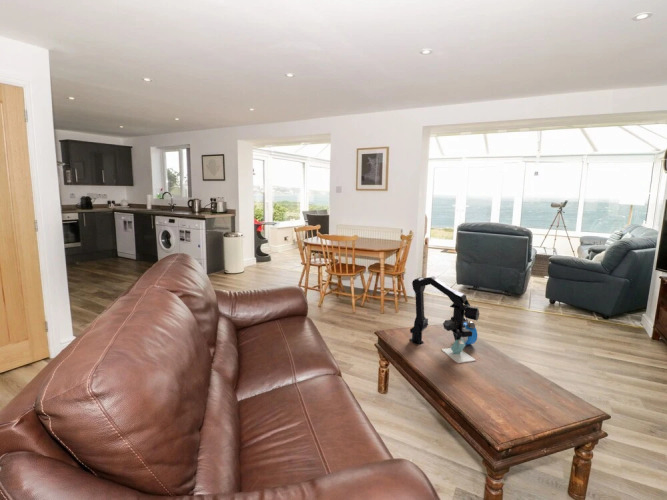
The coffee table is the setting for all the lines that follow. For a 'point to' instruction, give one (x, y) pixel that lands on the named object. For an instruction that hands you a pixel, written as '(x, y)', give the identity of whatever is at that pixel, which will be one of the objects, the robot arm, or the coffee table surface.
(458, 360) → the mat
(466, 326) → the alarm clock
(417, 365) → the coffee table surface
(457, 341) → the block
